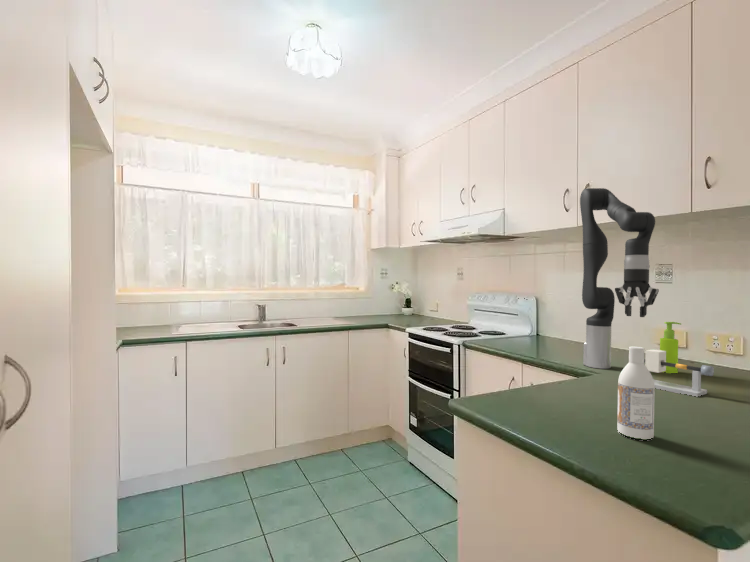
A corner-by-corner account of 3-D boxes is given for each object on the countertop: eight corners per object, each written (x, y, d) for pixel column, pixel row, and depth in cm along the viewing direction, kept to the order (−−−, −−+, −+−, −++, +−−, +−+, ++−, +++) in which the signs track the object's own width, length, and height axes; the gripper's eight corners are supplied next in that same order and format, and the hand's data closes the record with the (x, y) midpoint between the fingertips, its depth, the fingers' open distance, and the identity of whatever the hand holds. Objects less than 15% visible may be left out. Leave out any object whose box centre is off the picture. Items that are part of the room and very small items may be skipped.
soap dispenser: (683, 374, 156) (684, 323, 156) (663, 373, 157) (664, 322, 157) (675, 371, 162) (676, 321, 162) (656, 369, 163) (657, 320, 163)
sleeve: (645, 370, 137) (645, 350, 137) (652, 368, 140) (652, 349, 140) (658, 372, 133) (658, 352, 133) (665, 370, 136) (666, 351, 136)
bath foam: (619, 427, 96) (621, 343, 96) (655, 435, 91) (656, 347, 91) (614, 435, 90) (616, 347, 90) (651, 444, 86) (653, 350, 86)
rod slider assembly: (627, 382, 140) (627, 355, 140) (638, 380, 145) (638, 353, 145) (706, 399, 122) (707, 367, 122) (716, 395, 126) (716, 365, 126)
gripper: (610, 268, 146) (609, 315, 146) (654, 267, 134) (653, 318, 134) (620, 268, 150) (619, 314, 150) (664, 268, 138) (663, 318, 138)
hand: (635, 316), depth 142 cm, fingers open, 3 cm apart
